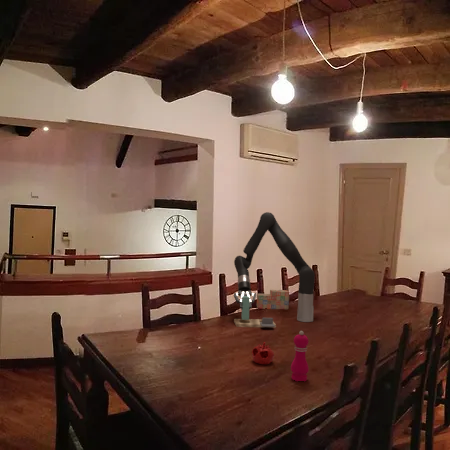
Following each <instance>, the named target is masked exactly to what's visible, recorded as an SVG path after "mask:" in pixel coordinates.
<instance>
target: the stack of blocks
mask: <svg viewBox="0 0 450 450" xmlns="http://www.w3.org/2000/svg"><path fill="white" fill-rule="evenodd" d="M289 303H290V291H289V290H285V289H284V290H283V289H269V293H256V307H257V309H263V310H265V308H267V309H268V310H289Z"/></svg>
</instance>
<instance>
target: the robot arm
mask: <svg viewBox="0 0 450 450" xmlns="http://www.w3.org/2000/svg"><path fill="white" fill-rule="evenodd" d="M268 232H269V233H270V235H271V236H272V239H273V240H274V242H275V244H276V246H277V248H278V249H279V251H280V252H281V253H282V254H283V256H284V257H285V259H287V260H288V261H289V262H290V263H291V264H292V266H294V269H295V270H296V272H297V274H298V276H299V281H298V295H297V296H298V297H297V311H296V313H297V316H296V320H297V321H298V322H304V323H310V322H314V307H315V306H314V290H315V278H316V277H315V276H316V274H315V271H314V270H313V268H311V267H310V265H308V263H307V262H306V261H305V260H304V258H303V256H302V255H301V253H300V251H299V250H298V247H297V246H296V245H295V243H294V242H293V240H292V239H291V238H290V237H289V235H288V234H287V233H286V232H285V231H284V230H283V229H282V228H281V226H280V224H279V223H278V221H277V219H276V217H275V215H274V214H273V213H272V212H270V211H267V212H264V213H262V214H261V215H260V218H259V221H258V224H257V227H256V228H255V230H254V232H253V234H252V235H251V237H250V238H249V240H247V243H246V244H245V247H244V248H243V253H244V254H245V255H246V256H245V257H244V256H242V255H237V256H236V257H235V258H234V261H233V263H234V268H235V270H236V272H237V289H238V290H237V292H234V293H233V297H234V300H235V302H236V304H239V309H240V310H242V309H243V304H242V296H249V297H250V305H249V310H251V309H252V307H253V306H252V304H254V303H255V300H256V298H257V293H256V292H252V289H251V287H252V286H251V279H250V272H249V268H250V267H251V265H252V261H253V258H254V255H255V253H256V251H257V249H258V248H259V246H260V244H261V242H262V240H263V238H264V236H265V235H266V233H268ZM238 296H239V297H238ZM251 296H252V299H251ZM239 298H240V299H239Z"/></svg>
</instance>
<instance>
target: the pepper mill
mask: <svg viewBox="0 0 450 450" xmlns="http://www.w3.org/2000/svg"><path fill="white" fill-rule="evenodd" d="M309 343H310V342H309V338H308V337H307V335H305V333H304V331H303V330H300V331H299V334H296V335H295V336H294V337H293V344H294V350H295V353H294V358H293V360H292V362H291V364H290V371H291V372H292V373H291V380H292V381H294V380H295V381H294V382H298V381H304V382H306V381H308V375H307V374H308V373H309V364H308V361H307V359H306V353H307V350H308V344H309Z"/></svg>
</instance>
